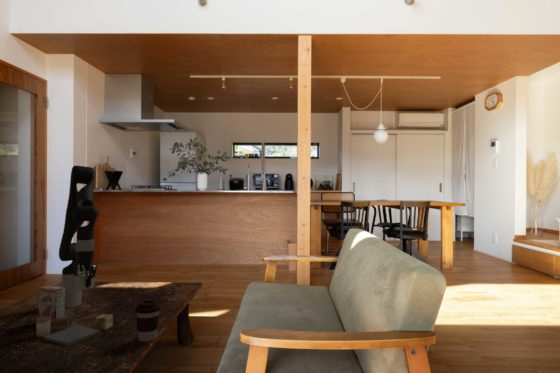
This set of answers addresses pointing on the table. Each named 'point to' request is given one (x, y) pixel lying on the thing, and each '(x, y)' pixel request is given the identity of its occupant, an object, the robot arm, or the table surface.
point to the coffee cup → (147, 320)
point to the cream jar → (43, 326)
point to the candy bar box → (52, 302)
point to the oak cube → (104, 321)
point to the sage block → (82, 282)
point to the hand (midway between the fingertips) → (84, 286)
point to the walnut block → (58, 324)
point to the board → (71, 335)
